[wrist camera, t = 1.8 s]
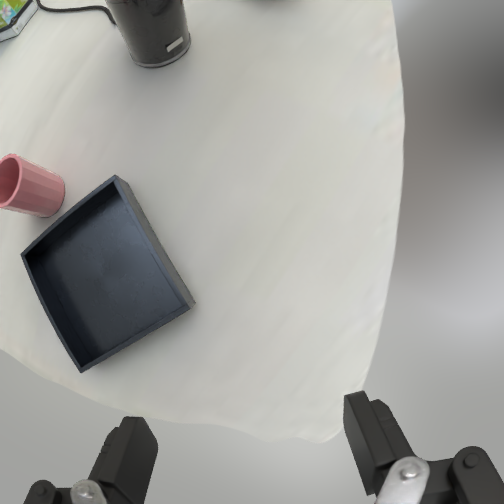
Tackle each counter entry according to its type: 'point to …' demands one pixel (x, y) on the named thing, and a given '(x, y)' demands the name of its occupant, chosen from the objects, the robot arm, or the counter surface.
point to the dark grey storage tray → (104, 275)
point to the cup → (29, 187)
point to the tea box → (14, 16)
